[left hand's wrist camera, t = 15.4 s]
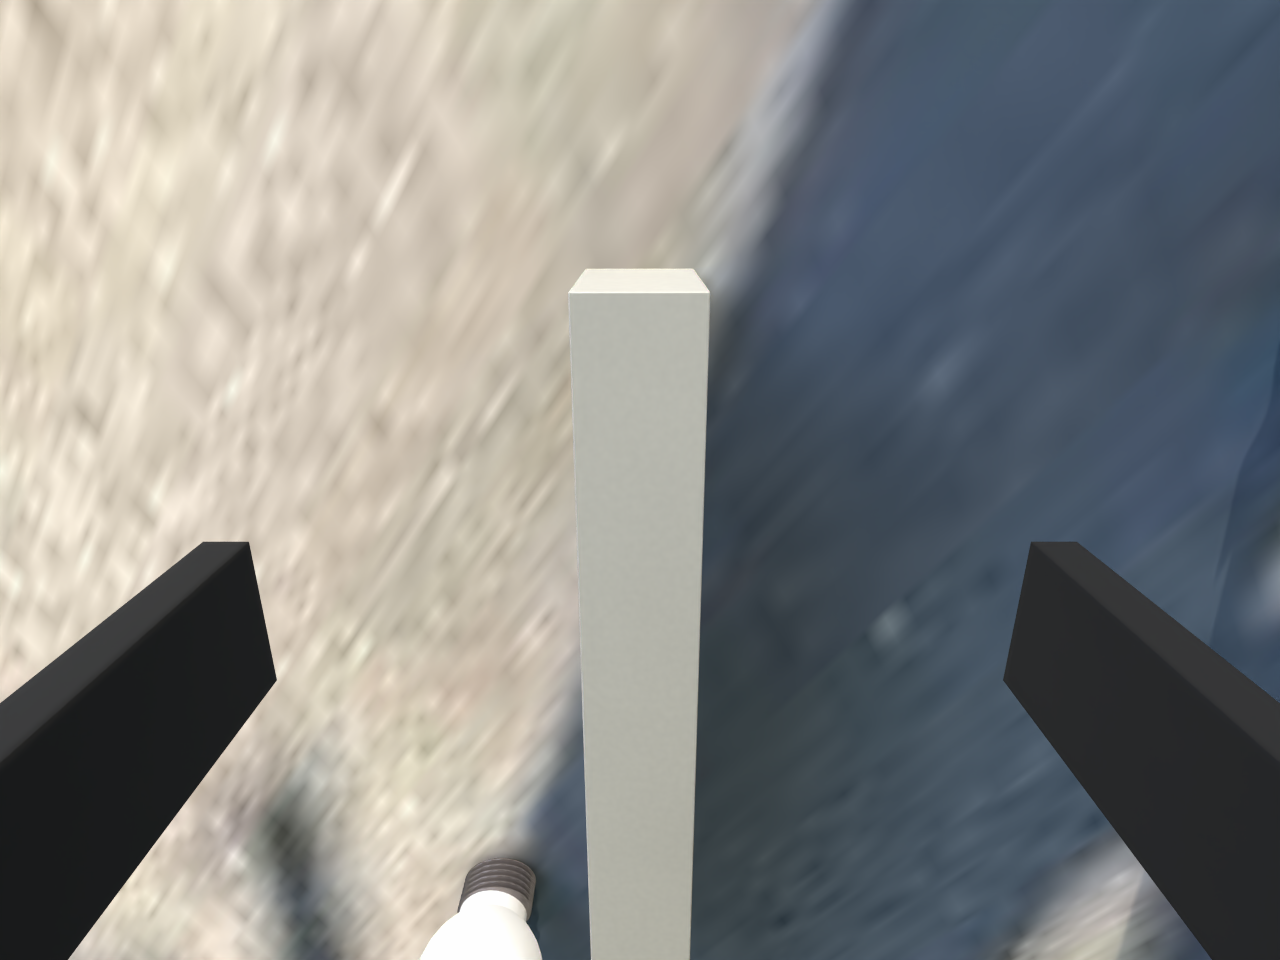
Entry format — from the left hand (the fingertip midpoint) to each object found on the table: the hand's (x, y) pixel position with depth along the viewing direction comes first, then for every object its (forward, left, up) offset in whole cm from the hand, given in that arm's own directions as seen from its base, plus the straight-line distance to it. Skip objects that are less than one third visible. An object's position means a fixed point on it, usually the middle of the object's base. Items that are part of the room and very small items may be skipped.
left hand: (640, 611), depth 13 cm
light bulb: (+29, +14, -22) cm, 39 cm away
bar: (+10, +9, -22) cm, 26 cm away
